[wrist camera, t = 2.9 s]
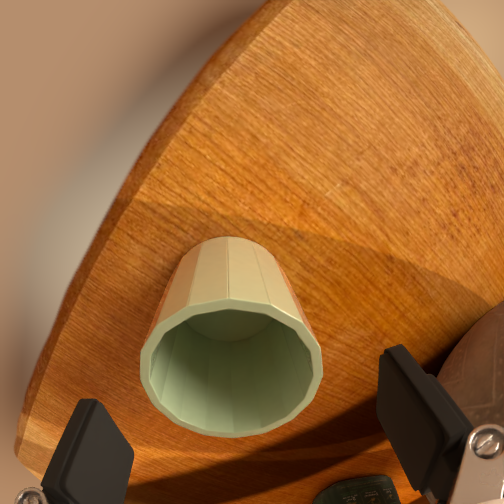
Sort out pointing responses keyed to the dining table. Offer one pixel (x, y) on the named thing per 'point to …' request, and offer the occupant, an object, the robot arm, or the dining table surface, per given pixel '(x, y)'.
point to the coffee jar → (360, 492)
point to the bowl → (478, 372)
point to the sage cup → (230, 343)
